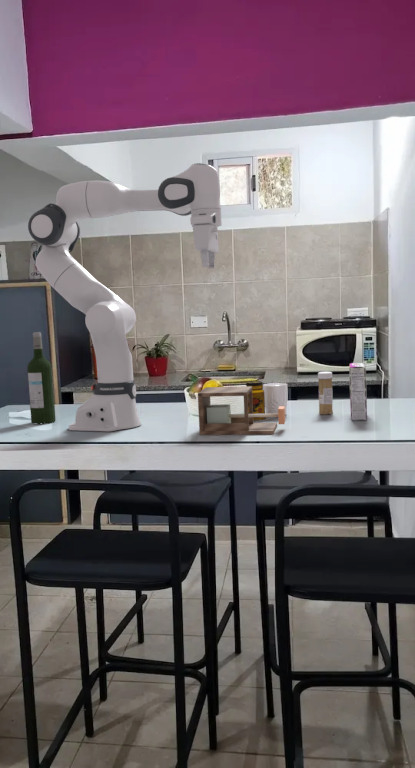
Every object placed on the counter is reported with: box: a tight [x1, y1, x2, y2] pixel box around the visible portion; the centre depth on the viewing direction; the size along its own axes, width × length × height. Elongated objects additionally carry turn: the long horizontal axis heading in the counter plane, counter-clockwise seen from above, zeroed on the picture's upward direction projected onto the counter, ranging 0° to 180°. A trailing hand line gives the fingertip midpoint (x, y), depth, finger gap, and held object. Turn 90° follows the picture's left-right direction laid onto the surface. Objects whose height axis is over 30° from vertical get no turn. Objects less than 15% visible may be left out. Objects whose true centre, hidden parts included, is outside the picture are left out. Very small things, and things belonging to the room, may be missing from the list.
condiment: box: [245, 380, 270, 422], centre depth 220 cm, size 7×8×12 cm
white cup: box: [263, 382, 288, 416], centre depth 226 cm, size 8×8×10 cm
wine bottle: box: [26, 331, 56, 425], centre depth 232 cm, size 8×8×30 cm
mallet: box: [207, 403, 286, 425], centre depth 202 cm, size 22×6×6 cm, turn 80°
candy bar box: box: [348, 362, 368, 421], centre depth 214 cm, size 11×5×16 cm, turn 168°
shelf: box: [197, 386, 278, 436], centre depth 202 cm, size 21×13×12 cm, turn 80°
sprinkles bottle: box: [317, 371, 334, 415], centre depth 224 cm, size 5×5×13 cm
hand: (208, 267), depth 208 cm, fingers open, 8 cm apart
